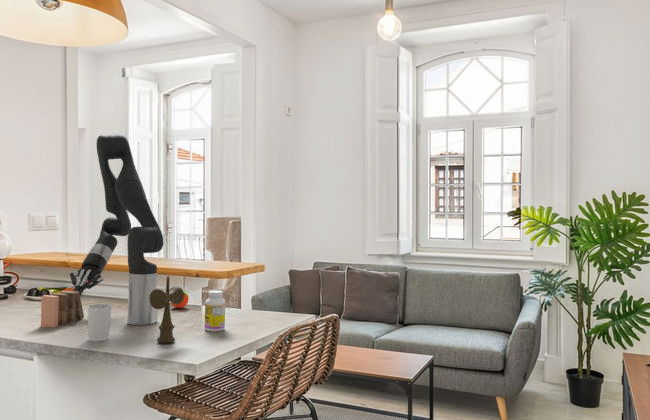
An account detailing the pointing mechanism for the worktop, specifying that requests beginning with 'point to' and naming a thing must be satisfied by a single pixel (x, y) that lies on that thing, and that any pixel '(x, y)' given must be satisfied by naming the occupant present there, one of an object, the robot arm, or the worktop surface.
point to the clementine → (182, 301)
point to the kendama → (166, 309)
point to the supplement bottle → (215, 312)
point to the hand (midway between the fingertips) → (74, 296)
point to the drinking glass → (99, 322)
